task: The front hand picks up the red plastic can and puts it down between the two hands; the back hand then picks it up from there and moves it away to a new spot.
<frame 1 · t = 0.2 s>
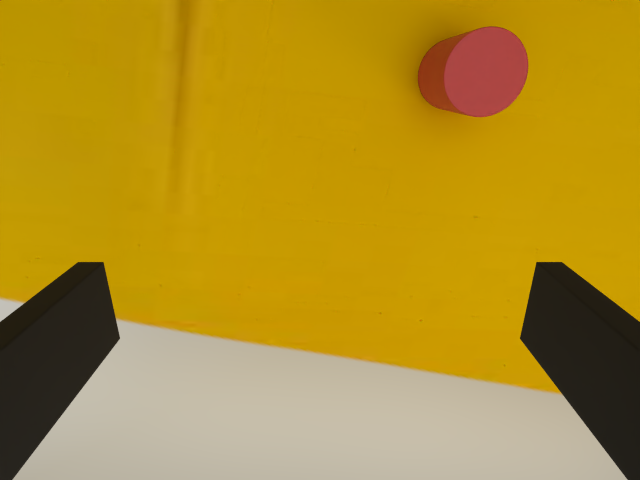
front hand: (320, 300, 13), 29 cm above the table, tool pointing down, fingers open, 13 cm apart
can: (451, 74, 37), on the table
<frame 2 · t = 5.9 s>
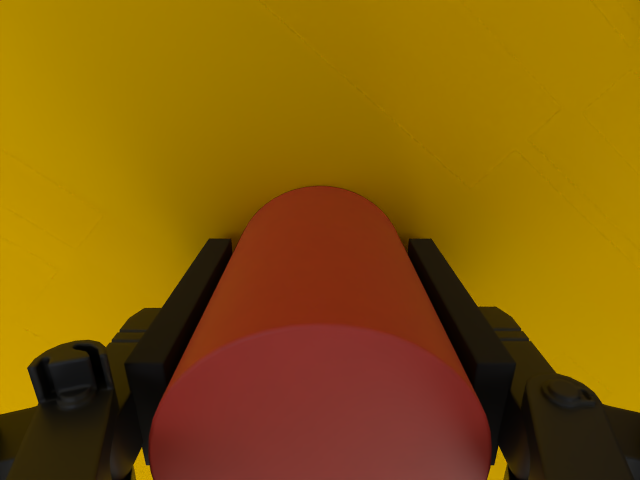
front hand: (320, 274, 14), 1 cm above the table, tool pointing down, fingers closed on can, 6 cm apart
can: (320, 266, 15), on the table, touching front hand
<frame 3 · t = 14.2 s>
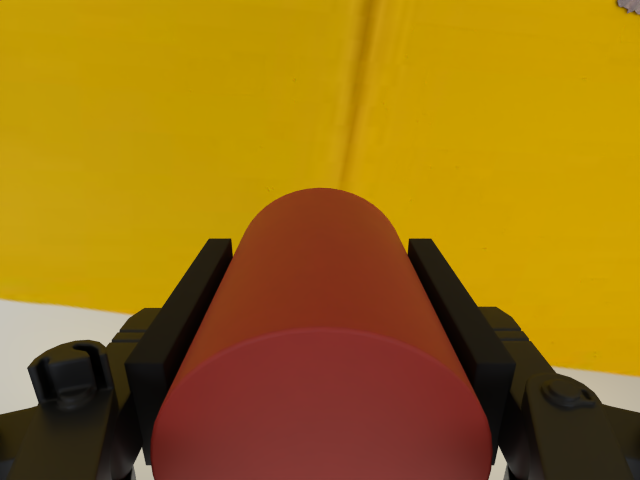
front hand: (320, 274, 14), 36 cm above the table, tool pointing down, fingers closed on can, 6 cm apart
can: (320, 267, 15), point 35 cm above the table, touching front hand
when the front hand's fingers open (2 cm above the table, at t = 22.6 s): can drops 1 cm, on the table.
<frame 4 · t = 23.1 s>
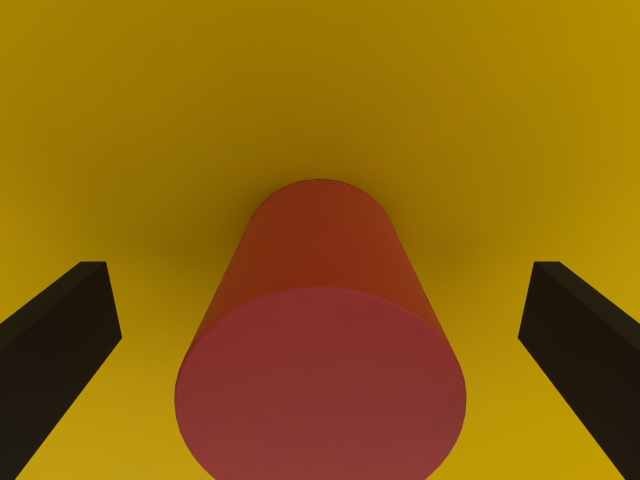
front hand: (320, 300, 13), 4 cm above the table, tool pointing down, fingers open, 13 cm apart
can: (320, 253, 16), on the table
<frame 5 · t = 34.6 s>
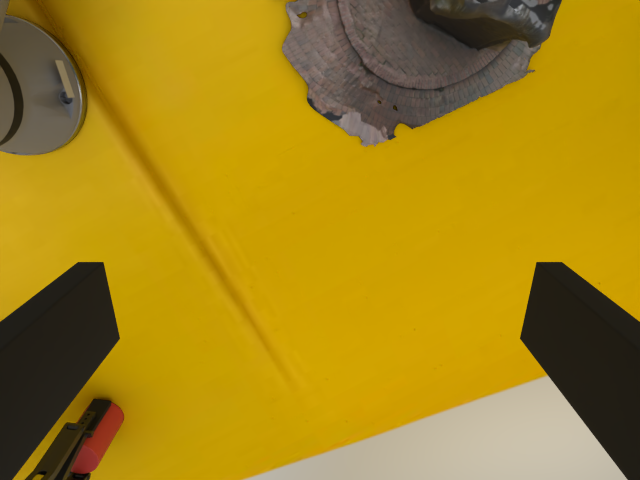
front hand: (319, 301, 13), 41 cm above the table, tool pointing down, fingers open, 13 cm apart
can: (105, 414, 67), on the table, touching back hand
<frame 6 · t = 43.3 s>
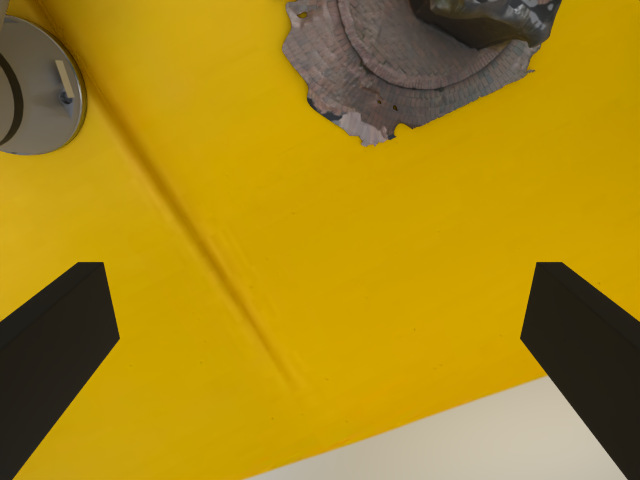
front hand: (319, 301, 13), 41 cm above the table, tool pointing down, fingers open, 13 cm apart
when the back hand's fingers open (2 cm above the table, at t = 52.0 s): can drops 1 cm, on the table.
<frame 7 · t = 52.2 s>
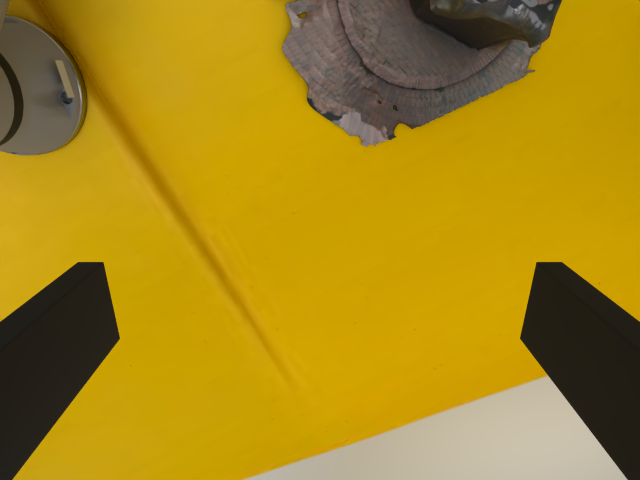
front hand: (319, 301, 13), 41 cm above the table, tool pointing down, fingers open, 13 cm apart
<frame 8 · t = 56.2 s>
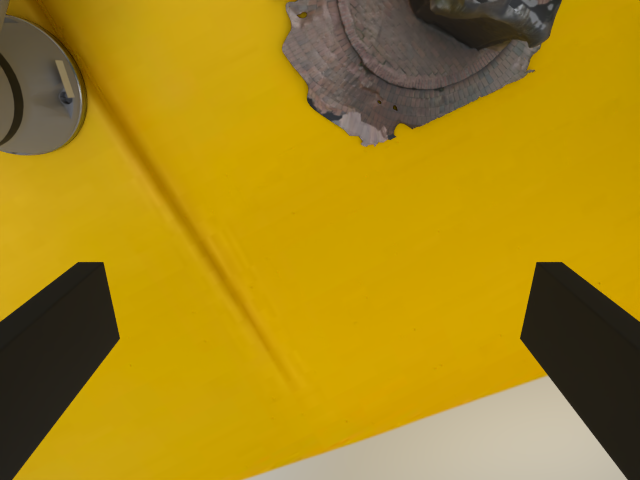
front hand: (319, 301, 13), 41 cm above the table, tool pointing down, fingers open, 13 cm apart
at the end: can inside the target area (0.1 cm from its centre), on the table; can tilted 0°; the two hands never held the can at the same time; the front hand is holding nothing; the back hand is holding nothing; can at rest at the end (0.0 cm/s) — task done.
